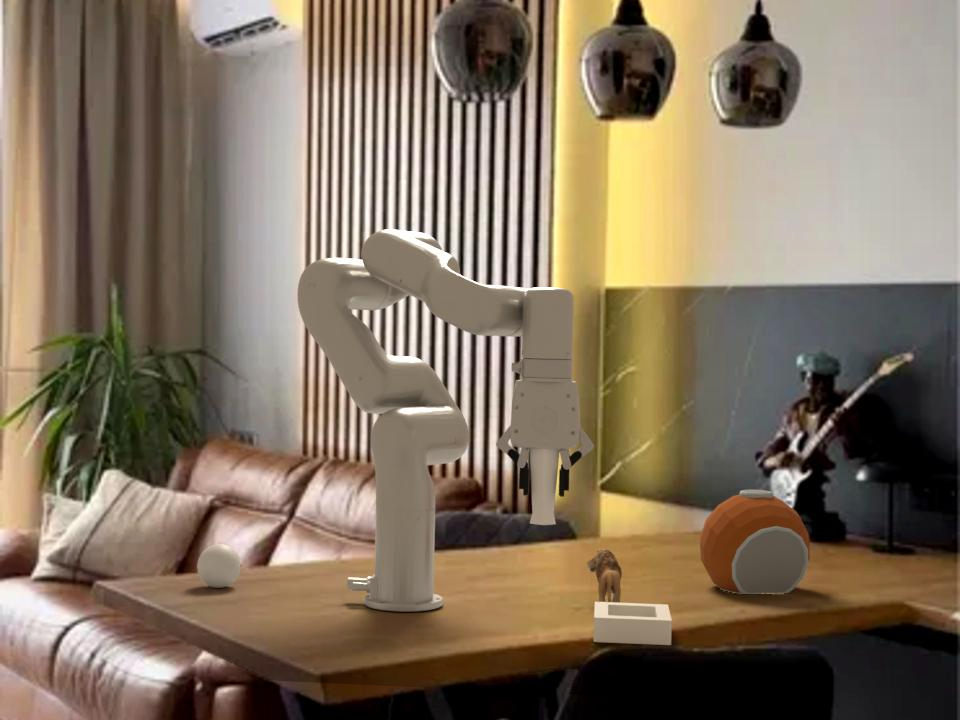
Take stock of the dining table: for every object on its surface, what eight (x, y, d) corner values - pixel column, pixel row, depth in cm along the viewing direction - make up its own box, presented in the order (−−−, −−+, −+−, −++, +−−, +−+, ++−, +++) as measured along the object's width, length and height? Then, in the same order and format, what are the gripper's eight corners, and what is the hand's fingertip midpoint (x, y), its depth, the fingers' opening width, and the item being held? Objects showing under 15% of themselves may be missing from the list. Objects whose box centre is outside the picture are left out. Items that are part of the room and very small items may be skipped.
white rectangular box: (593, 641, 199) (594, 617, 199) (594, 624, 211) (594, 601, 211) (671, 645, 198) (671, 620, 198) (667, 627, 210) (668, 604, 210)
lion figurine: (584, 601, 230) (585, 547, 229) (615, 601, 230) (617, 547, 230) (601, 619, 215) (602, 561, 215) (634, 619, 215) (636, 561, 215)
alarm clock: (780, 579, 255) (783, 485, 255) (826, 597, 238) (829, 496, 238) (683, 581, 250) (685, 485, 250) (722, 599, 233) (725, 496, 233)
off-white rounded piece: (242, 591, 231) (243, 547, 231) (196, 591, 230) (197, 547, 230) (240, 580, 241) (241, 538, 241) (196, 581, 240) (197, 538, 240)
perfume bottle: (553, 526, 202) (556, 423, 202) (524, 524, 204) (527, 421, 204) (562, 522, 207) (565, 421, 206) (534, 520, 208) (537, 420, 208)
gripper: (487, 370, 202) (484, 496, 202) (604, 373, 200) (601, 500, 201) (491, 369, 209) (489, 490, 210) (604, 372, 208) (601, 494, 208)
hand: (543, 493), depth 205 cm, fingers closed on perfume bottle, 4 cm apart
